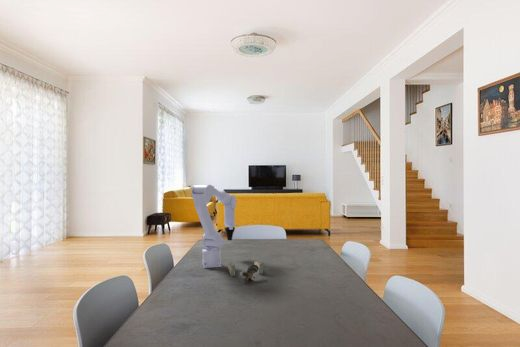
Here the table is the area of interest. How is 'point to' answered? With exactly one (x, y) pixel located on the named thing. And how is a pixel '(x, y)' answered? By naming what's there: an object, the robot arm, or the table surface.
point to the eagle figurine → (249, 272)
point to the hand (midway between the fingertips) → (229, 240)
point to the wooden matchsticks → (260, 265)
